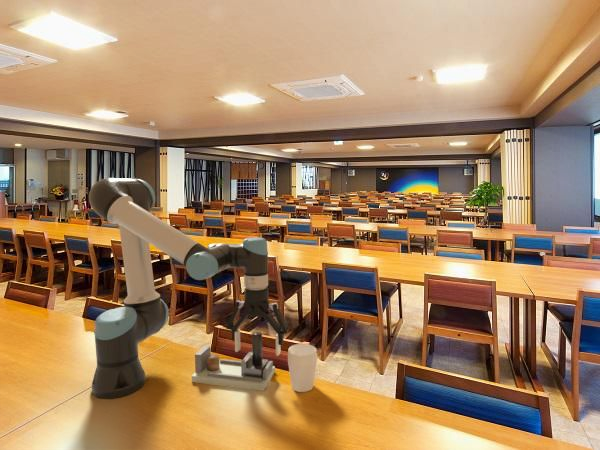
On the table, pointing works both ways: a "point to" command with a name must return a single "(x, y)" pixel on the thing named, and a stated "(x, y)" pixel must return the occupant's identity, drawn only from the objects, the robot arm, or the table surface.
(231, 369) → the base
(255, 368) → the handle
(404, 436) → the table surface
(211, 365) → the walnut
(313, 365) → the cup
